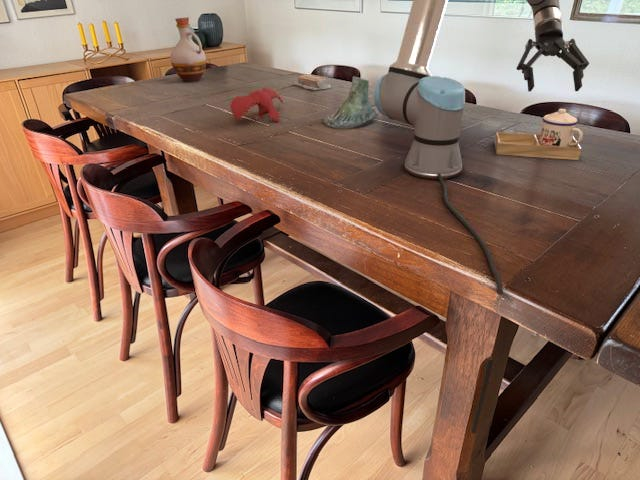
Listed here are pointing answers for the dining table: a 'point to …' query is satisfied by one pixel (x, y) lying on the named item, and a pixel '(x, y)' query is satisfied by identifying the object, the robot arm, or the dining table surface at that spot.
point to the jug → (187, 54)
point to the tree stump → (353, 108)
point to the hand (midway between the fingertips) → (554, 88)
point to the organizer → (532, 147)
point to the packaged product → (312, 82)
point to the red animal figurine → (259, 98)
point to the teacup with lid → (559, 130)
